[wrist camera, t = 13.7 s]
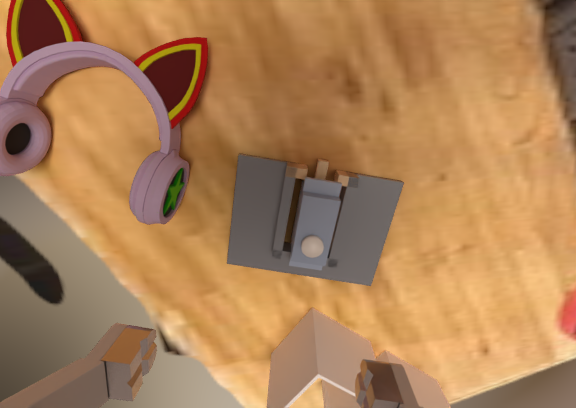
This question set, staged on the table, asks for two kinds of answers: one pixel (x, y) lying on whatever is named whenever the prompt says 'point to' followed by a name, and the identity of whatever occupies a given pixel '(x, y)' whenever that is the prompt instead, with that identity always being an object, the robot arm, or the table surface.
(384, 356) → the double compartment bin
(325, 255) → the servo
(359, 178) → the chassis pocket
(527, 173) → the table surface
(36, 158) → the headphones
